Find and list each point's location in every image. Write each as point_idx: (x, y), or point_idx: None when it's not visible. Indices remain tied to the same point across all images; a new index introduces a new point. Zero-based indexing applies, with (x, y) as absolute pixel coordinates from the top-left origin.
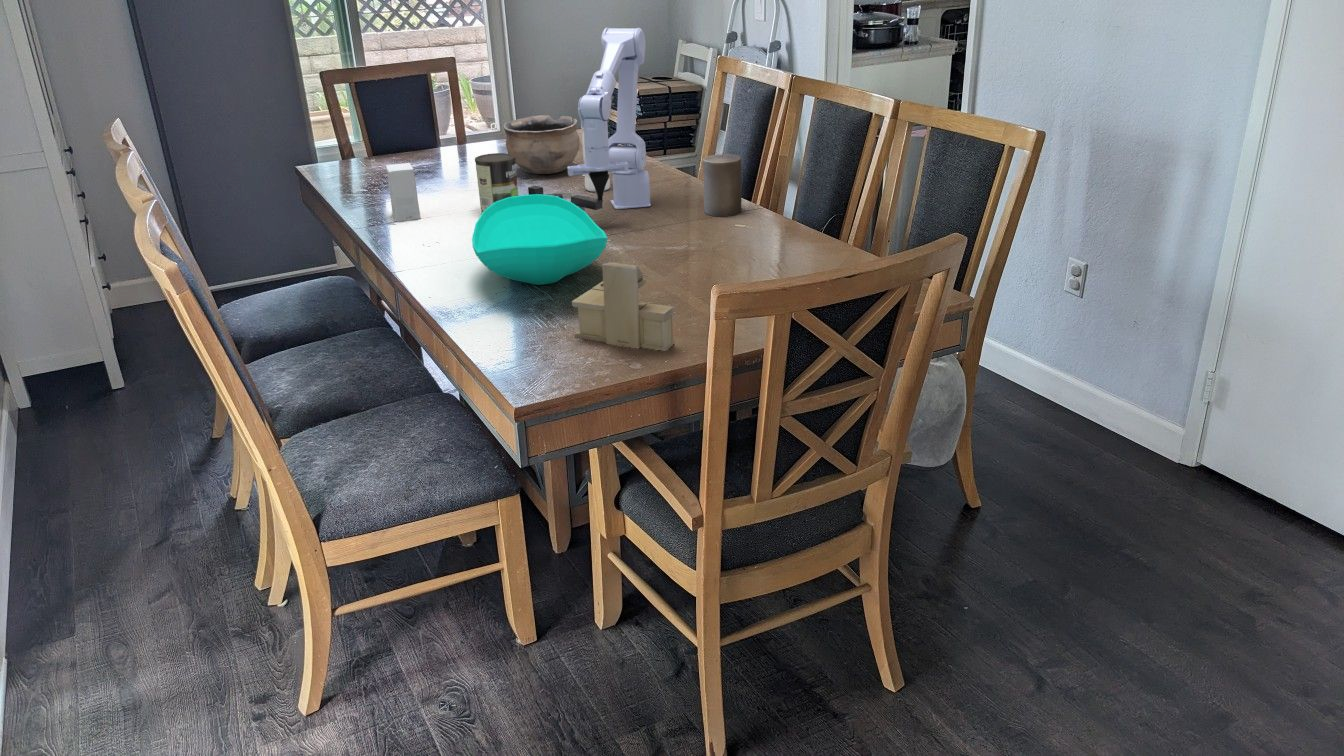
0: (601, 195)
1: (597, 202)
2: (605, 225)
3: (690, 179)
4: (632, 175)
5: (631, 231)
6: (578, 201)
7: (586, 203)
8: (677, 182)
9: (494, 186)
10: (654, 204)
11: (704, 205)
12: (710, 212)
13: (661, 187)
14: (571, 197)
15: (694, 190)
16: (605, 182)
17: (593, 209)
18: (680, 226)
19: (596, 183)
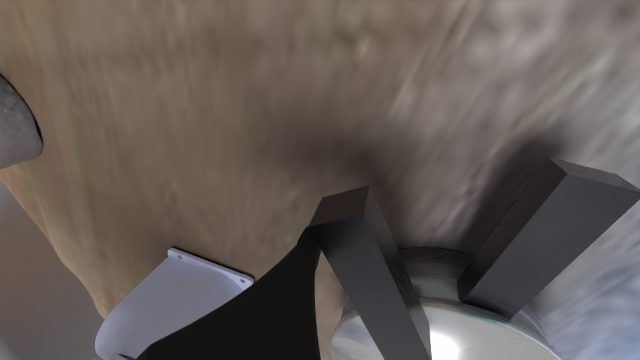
0: (296, 255)
1: (346, 214)
2: (325, 179)
3: None
4: (134, 352)
5: (256, 45)
6: (414, 309)
7: (394, 263)
8: None
9: None
10: (164, 255)
11: (9, 131)
12: (2, 91)
13: None
14: (431, 356)
15: (94, 274)
16: (209, 323)
17: (376, 202)
18: (78, 13)
19: (296, 356)
